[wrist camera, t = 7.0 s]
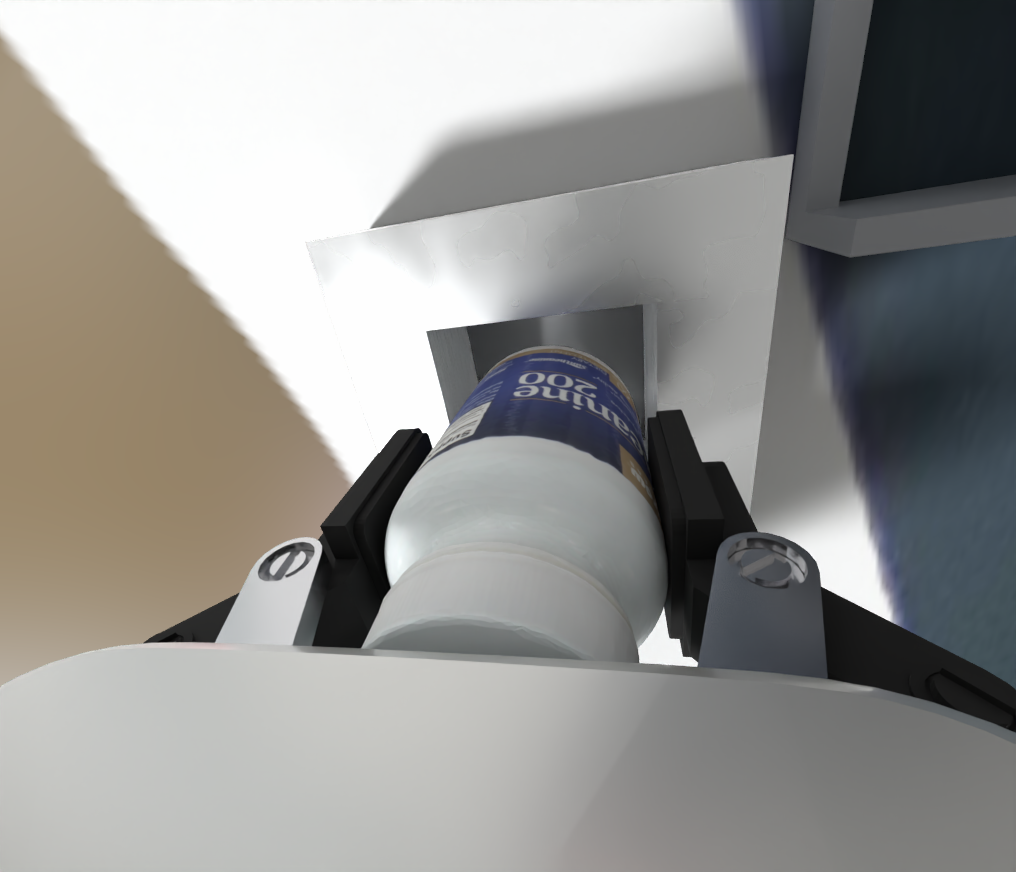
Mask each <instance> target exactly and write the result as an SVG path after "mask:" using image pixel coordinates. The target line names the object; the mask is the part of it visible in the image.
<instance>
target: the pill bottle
mask: <svg viewBox="0 0 1016 872" xmlns="http://www.w3.org/2000/svg"><path fill="white" fill-rule="evenodd" d="M384 557H385V567H386V572H387V577H388V581H389V584H390V587H391V589H390V590H389V592H388V593H387V594H386V596H385V597H384V599H383V601H382V604H381V606H380V609H379V612H378V615H377V617H376V619H375V621H374V623H373V625H372V627H371V629H370V631H369V633H368V635H367V638H366V640H365V642H364V644H363V646H362V648H361V649H381V650H401V651H422V652H442V653H461V654H480V655H500V656H519V657H537V658H555V659H572V660H590V661H608V662H626V663H639V655H638V647H639V646H640V645H641V644H642V643H643V642H644V641H645V640H646V638H647V637H648V636H649V634H650V633H651V632H652V630H653V629H654V627H655V625H656V623H657V621H658V620H659V617H660V615H661V613H662V610H663V607H664V604H665V600H666V595H667V589H668V557H667V551H666V545H665V539H664V533H663V529H662V524H661V519H660V515H659V511H658V507H657V502H656V497H655V493H654V487H653V484H652V478H651V473H650V469H649V465H648V460H647V456H646V451H645V447H644V443H643V438H642V433H641V428H640V425H639V419H638V416H637V412H636V409H635V405H634V402H633V400H632V397H631V395H630V393H629V391H628V389H627V387H626V386H625V384H624V383H623V381H622V380H621V379H620V378H619V376H618V375H617V374H616V373H615V372H614V371H613V370H612V369H611V368H610V367H609V366H608V365H606V364H605V363H604V362H602V361H601V360H599V359H597V358H596V357H594V356H592V355H590V354H588V353H586V352H583V351H579V350H576V349H573V348H570V347H566V346H557V345H545V346H536V347H531V348H526V349H524V350H521V351H518V352H516V353H514V354H511V355H509V356H507V357H506V358H504V359H503V360H501V361H500V362H498V363H497V364H496V365H495V366H494V367H493V368H491V369H490V370H489V371H488V373H487V374H486V375H485V376H484V377H483V379H482V380H481V381H480V382H479V384H478V385H477V386H476V387H475V389H474V391H473V392H472V393H471V395H470V396H469V397H468V399H467V400H466V402H465V403H464V404H463V406H462V407H461V409H460V410H459V411H458V413H457V414H456V416H455V417H454V418H453V420H452V422H451V423H450V424H449V426H448V427H447V429H446V430H445V432H444V433H443V434H442V436H441V437H440V439H439V440H438V442H437V443H436V445H435V446H434V447H433V449H432V450H431V452H430V453H429V455H428V456H427V458H426V459H425V461H424V462H423V463H422V465H421V466H420V468H419V469H418V470H417V472H416V473H415V474H414V476H413V477H412V479H411V480H410V481H409V483H408V484H407V486H406V488H405V489H404V491H403V493H402V495H401V497H400V498H399V500H398V502H397V504H396V506H395V508H394V510H393V512H392V514H391V517H390V520H389V524H388V527H387V532H386V538H385V548H384Z"/></svg>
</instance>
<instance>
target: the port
mask: <svg viewBox="0 0 1016 872" xmlns="http://www.w3.org/2000/svg"><path fill="white" fill-rule="evenodd" d="M793 157H794V154H790V155H783V156H776V157H769V158H761V159H754V160H747V161H740V162H735V163H729V164H724V165H718V166H713V167H707V168H702V169H696V170H691V171H685V172H680V173H674V174H669V175H663V176H658V177H652V178H647V179H641V180H636V181H630V182H625V183H619V184H614V185H608V186H603V187H597V188H592V189H586V190H581V191H575V192H570V193H564V194H559V195H553V196H548V197H542V198H537V199H531V200H526V201H520V202H515V203H509V204H504V205H498V206H493V207H487V208H482V209H476V210H471V211H465V212H460V213H454V214H449V215H443V216H438V217H432V218H427V219H422V220H416V221H411V222H405V223H400V224H394V225H389V226H383V227H378V228H372V229H367V230H362V231H357V232H353V233H348V234H343V235H338V236H334V237H329V238H324V239H319V240H315V241H310V242H305V243H306V246H307V249H308V251H309V254H310V257H311V260H312V263H313V266H314V269H315V271H316V274H317V277H318V280H319V283H320V286H321V289H322V291H323V294H324V297H325V300H326V303H327V306H328V309H329V312H330V314H331V317H332V320H333V323H334V326H335V329H336V332H337V334H338V337H339V340H340V343H341V346H342V349H343V352H344V354H345V357H346V360H347V363H348V366H349V369H350V372H351V374H352V377H353V380H354V383H355V386H356V389H357V392H358V394H359V397H360V400H361V403H362V406H363V409H364V412H365V414H366V417H367V420H368V423H369V426H370V429H371V432H372V434H373V437H374V440H375V443H376V446H377V449H378V452H380V451H381V449H382V448H383V447H384V446H385V444H386V443H387V442H388V441H389V439H390V438H391V437H392V436H393V434H394V433H395V432H396V431H397V430H398V429H407V428H420V429H421V430H422V432H423V433H428V435H429V437H430V440H431V444H432V447H434V446H435V445H436V443H437V442H438V440H439V439H440V437H441V436H442V434H443V433H444V432H445V430H446V429H447V427H448V426H449V424H450V423H451V422H452V420H453V418H454V417H455V416H456V414H457V413H458V411H459V410H460V409H461V407H462V406H463V404H464V403H465V402H466V400H467V399H468V397H469V396H470V395H471V393H472V392H473V391H474V389H475V387H476V386H477V385H478V379H477V374H476V369H475V364H474V360H473V355H472V350H471V345H470V340H469V335H468V331H467V326H470V325H478V324H487V323H495V322H503V321H511V320H520V319H528V318H536V317H544V316H552V315H561V314H569V313H577V312H585V311H594V310H602V309H610V308H618V307H627V306H635V305H643V340H644V396H645V440H643V443H644V447H645V451H646V456H647V460H648V433H647V419H648V418H649V417H656V412H657V411H664V410H678V409H681V410H682V412H683V414H684V417H685V419H686V422H687V425H688V427H689V430H690V432H691V435H692V437H693V440H694V442H695V445H696V447H697V450H698V453H699V455H700V458H701V460H702V462H715V461H723V462H724V463H725V464H726V466H727V468H728V470H729V472H730V474H731V476H732V478H733V480H734V482H735V485H736V487H737V489H738V491H739V493H740V495H741V497H742V499H743V501H744V504H745V506H746V508H747V510H748V512H749V514H750V510H751V502H752V494H753V486H754V477H755V469H756V461H757V453H758V445H759V436H760V428H761V420H762V412H763V403H764V395H765V387H766V379H767V371H768V362H769V354H770V346H771V338H772V329H773V321H774V313H775V305H776V297H777V288H778V280H779V272H780V264H781V255H782V247H783V239H784V231H785V223H786V214H787V206H788V198H789V190H790V181H791V173H792V165H793Z"/></svg>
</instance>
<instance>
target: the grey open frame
mask: <svg viewBox="0 0 1016 872" xmlns="http://www.w3.org/2000/svg"><path fill="white" fill-rule="evenodd" d="M872 6H873V0H815V3H814V11H813V19H812V27H811V35H810V44H809V52H808V60H807V68H806V76H805V84H804V92H803V100H802V108H801V116H800V125H799V133H798V141H797V149H796V157H795V165H794V173H793V181H792V189H791V197H790V206H789V214H788V222H787V230H786V238H785V239H789V240H792V241H795V242H799V243H802V244H806V245H809V246H812V247H816V248H819V249H823V250H826V251H829V252H833V253H836V254H840V255H843V256H846V257H858V256H865V255H873V254H880V253H888V252H896V251H903V250H911V249H919V248H926V247H934V246H941V245H949V244H957V243H964V242H972V241H980V240H987V239H995V238H1002V237H1010V236H1016V174H1015V175H1009V176H1002V177H996V178H989V179H983V180H977V181H970V182H964V183H957V184H951V185H945V186H938V187H932V188H925V189H919V190H913V191H906V192H900V193H893V194H887V195H881V196H874V197H868V198H861V199H855V200H849V201H842V202H839V200H840V194H841V188H842V183H843V177H844V171H845V165H846V159H847V153H848V147H849V141H850V136H851V130H852V124H853V118H854V112H855V106H856V100H857V94H858V89H859V83H860V77H861V71H862V65H863V59H864V53H865V47H866V42H867V36H868V30H869V24H870V18H871V12H872Z"/></svg>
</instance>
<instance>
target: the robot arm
mask: <svg viewBox="0 0 1016 872" xmlns="http://www.w3.org/2000/svg"><path fill="white" fill-rule="evenodd" d="M647 433H648V465H649V469H650V473H651V478H652V484H653V487H654V493H655V497H656V502H657V507H658V511H659V515H660V519H661V524H662V529H663V533H664V539H665V545H666V551H667V557H668V589H667V595H666V600H665V604H664V609H665V615H666V621H667V627H668V633H669V637H670V638H671V639H680V643H681V648H682V654H683V657H692V658H693V659H694V660H696V661H697V662H698V667H689V666H675V665H661V664H643V663H626V662H608V661H590V660H572V659H555V658H537V657H519V656H500V655H480V654H461V653H442V652H422V651H401V650H381V649H361V648H362V646H363V644H364V642H365V640H366V638H367V635H368V633H369V631H370V629H371V627H372V625H373V623H374V621H375V619H376V617H377V615H378V612H379V609H380V606H381V604H382V601H383V599H384V597H385V596H386V594H387V593H388V592H389V590H390V589H391V587H390V584H389V581H388V577H387V572H386V567H385V557H384V548H385V538H386V532H387V527H388V524H389V520H390V517H391V514H392V512H393V510H394V508H395V506H396V504H397V502H398V500H399V498H400V497H401V495H402V493H403V491H404V489H405V488H406V486H407V484H408V483H409V481H410V480H411V479H412V477H413V476H414V474H415V473H416V472H417V470H418V469H419V468H420V466H421V465H422V463H423V462H424V461H425V459H426V458H427V456H428V455H429V453H430V452H431V450H432V449H433V447H432V444H431V440H430V437H429V435H428V433H423V432H422V430H421V429H420V428H407V429H398V430H397V431H396V432H395V433H394V434H393V436H392V437H391V438H390V439H389V441H388V442H387V443H386V444H385V446H384V447H383V448H382V449H381V451H380V452H379V453H378V454H377V456H376V457H375V458H374V459H373V461H372V462H371V463H370V464H369V466H368V467H367V468H366V469H365V471H364V472H363V473H362V474H361V476H360V477H359V478H358V479H357V481H356V482H355V483H354V485H353V486H352V487H351V488H350V490H349V491H348V492H347V494H346V495H345V496H344V497H343V498H342V500H341V501H340V502H339V504H338V505H337V506H336V507H335V508H334V510H333V511H332V512H331V513H330V515H329V516H328V517H327V518H326V520H325V521H324V522H323V523H322V525H321V526H320V527H321V529H322V531H323V534H322V535H321V537H320V538H319V539H318V540H316V539H315V538H309V537H303V538H296V539H293V540H289V541H286V542H284V543H282V544H280V545H278V546H276V547H274V548H273V549H271V550H270V551H268V552H267V553H265V554H264V555H263V556H262V557H261V558H260V559H259V560H258V561H257V562H256V564H255V565H254V567H253V568H252V570H251V571H250V573H249V575H248V578H247V579H246V582H245V584H244V586H243V587H242V589H241V592H240V593H238V594H236V595H234V596H232V597H230V598H228V599H226V600H224V601H222V602H220V603H218V604H217V605H214V606H212V607H210V608H208V609H207V610H205V611H202V612H201V613H199V614H197V615H195V616H193V617H191V618H189V619H187V620H185V621H183V622H181V623H179V624H177V625H175V626H173V627H171V628H169V629H167V630H165V631H163V632H161V633H159V634H156V635H155V636H153V637H151V638H149V639H148V640H147V641H145V642H144V643H143V644H134V645H122V646H116V647H111V648H105V649H100V650H95V651H90V652H85V653H81V654H78V655H75V656H71V657H68V658H65V659H61V660H58V661H55V662H52V663H49V664H47V665H44V666H41V667H39V668H36V669H34V670H32V671H30V672H27V673H25V674H23V675H20V676H18V677H16V678H14V679H12V680H10V681H8V682H7V683H5V684H3V685H2V686H0V872H1016V690H1015V689H1014V688H1013V687H1012V686H1011V685H1009V684H1008V683H1006V682H1005V681H1003V680H1001V679H1000V678H998V677H996V676H995V675H993V674H991V673H990V672H988V671H986V670H985V669H983V668H981V667H979V666H977V665H975V664H973V663H971V662H969V661H967V660H965V659H963V658H961V657H959V656H957V655H955V654H953V653H951V652H949V651H947V650H945V649H943V648H941V647H939V646H937V645H935V644H933V643H931V642H929V641H927V640H925V639H923V638H921V637H919V636H917V635H915V634H913V633H911V632H909V631H907V630H906V629H904V628H902V627H900V626H898V625H896V624H894V623H892V622H890V621H888V620H886V619H884V618H882V617H880V616H878V615H876V614H874V613H872V612H870V611H868V610H866V609H864V608H862V607H860V606H858V605H856V604H854V603H852V602H850V601H848V600H846V599H844V598H842V597H840V596H838V595H836V594H834V593H832V592H830V591H828V590H826V589H825V588H823V587H821V583H820V572H819V569H818V566H817V563H816V561H815V560H814V559H813V558H812V556H811V555H810V554H809V553H808V552H807V551H806V550H804V549H803V548H802V547H800V546H799V545H798V544H796V543H794V542H792V541H790V540H788V539H785V538H783V537H780V536H776V535H773V534H769V533H761V532H758V531H757V529H756V527H755V525H754V523H753V520H752V518H751V516H750V514H749V512H748V510H747V508H746V506H745V504H744V501H743V499H742V497H741V495H740V493H739V491H738V489H737V487H736V485H735V482H734V480H733V478H732V476H731V474H730V472H729V470H728V468H727V466H726V464H725V463H724V462H723V461H715V462H702V460H701V458H700V455H699V453H698V450H697V447H696V445H695V442H694V440H693V437H692V435H691V432H690V430H689V427H688V425H687V422H686V419H685V417H684V414H683V412H682V410H681V409H678V410H664V411H657V412H656V417H649V418H648V419H647Z"/></svg>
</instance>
